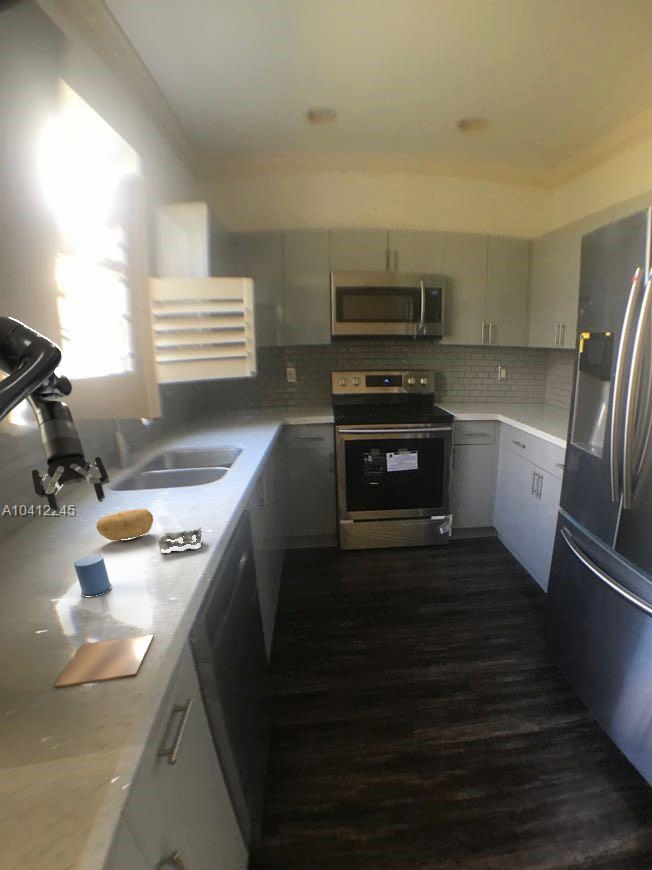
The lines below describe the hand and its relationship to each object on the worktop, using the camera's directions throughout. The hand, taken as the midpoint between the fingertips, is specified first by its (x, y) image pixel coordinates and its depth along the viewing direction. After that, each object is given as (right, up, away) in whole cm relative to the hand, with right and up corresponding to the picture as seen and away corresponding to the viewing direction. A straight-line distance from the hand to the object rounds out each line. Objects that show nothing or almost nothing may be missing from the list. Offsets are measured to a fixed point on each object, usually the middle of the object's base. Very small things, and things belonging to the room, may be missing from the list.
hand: (79, 505), depth 103 cm
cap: (+5, -19, -2) cm, 20 cm away
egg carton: (+15, -11, +19) cm, 27 cm away
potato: (-3, -9, +25) cm, 27 cm away
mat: (+22, -27, -25) cm, 43 cm away
